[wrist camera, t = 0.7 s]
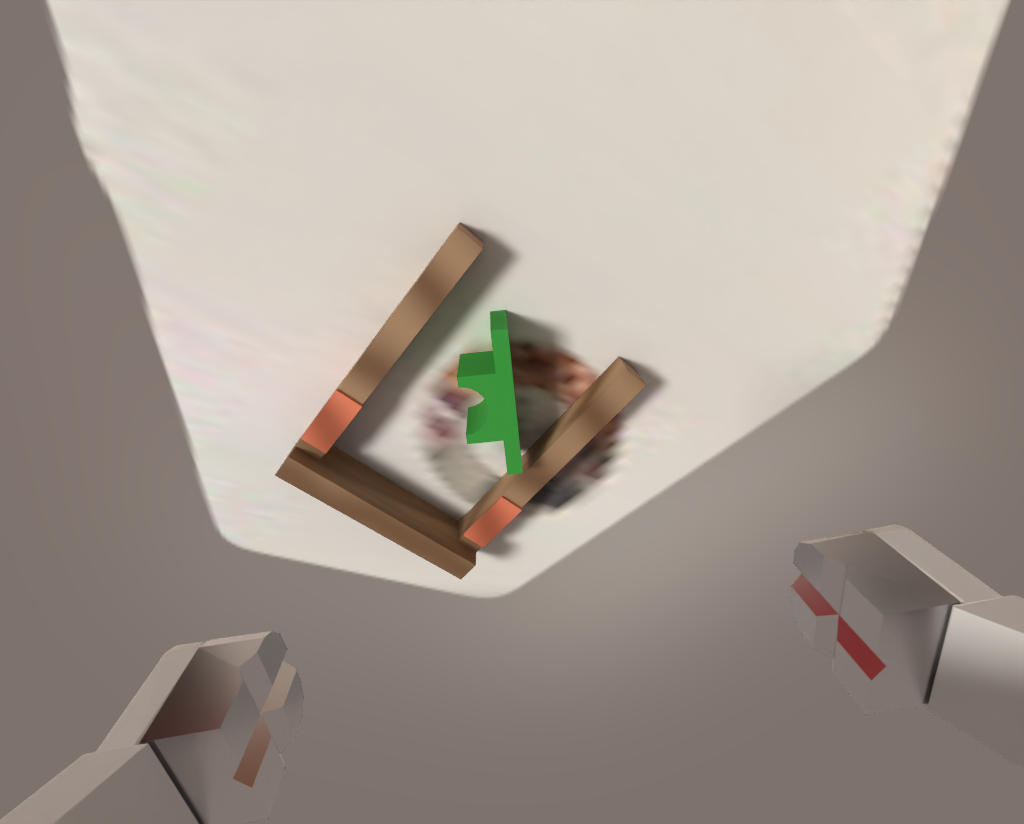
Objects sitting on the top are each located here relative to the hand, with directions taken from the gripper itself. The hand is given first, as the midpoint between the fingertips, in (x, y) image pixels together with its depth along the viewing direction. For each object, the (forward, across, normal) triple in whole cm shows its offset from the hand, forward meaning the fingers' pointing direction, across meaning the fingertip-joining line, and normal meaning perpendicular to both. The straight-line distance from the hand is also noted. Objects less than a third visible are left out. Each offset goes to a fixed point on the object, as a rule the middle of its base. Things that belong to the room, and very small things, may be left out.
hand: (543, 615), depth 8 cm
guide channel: (+31, +3, +8) cm, 32 cm away
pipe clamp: (+31, +1, +6) cm, 31 cm away
